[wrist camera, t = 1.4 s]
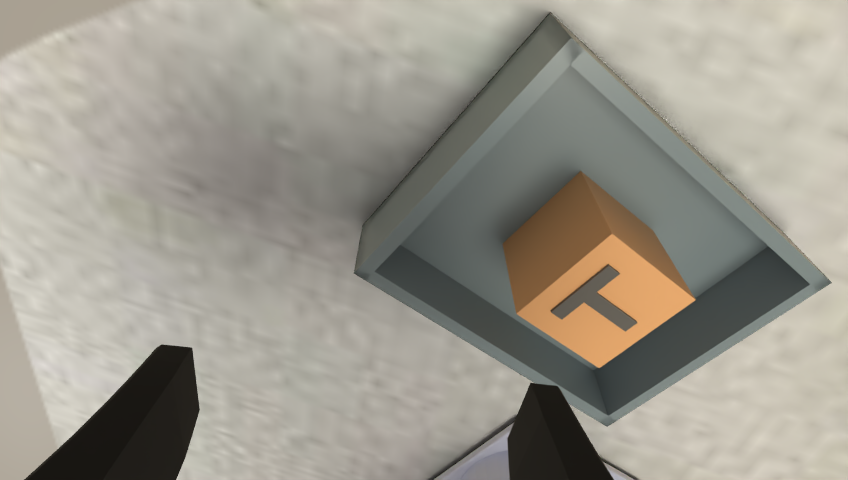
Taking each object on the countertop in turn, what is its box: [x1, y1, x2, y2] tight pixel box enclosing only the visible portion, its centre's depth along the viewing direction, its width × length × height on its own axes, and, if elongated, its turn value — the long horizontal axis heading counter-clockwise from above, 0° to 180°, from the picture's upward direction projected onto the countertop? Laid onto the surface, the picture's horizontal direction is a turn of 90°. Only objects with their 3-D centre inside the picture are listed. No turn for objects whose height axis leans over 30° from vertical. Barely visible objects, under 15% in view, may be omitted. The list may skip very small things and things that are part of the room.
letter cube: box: [503, 171, 696, 368], centre depth 19 cm, size 4×4×4 cm
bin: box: [354, 12, 832, 427], centre depth 20 cm, size 13×10×3 cm
